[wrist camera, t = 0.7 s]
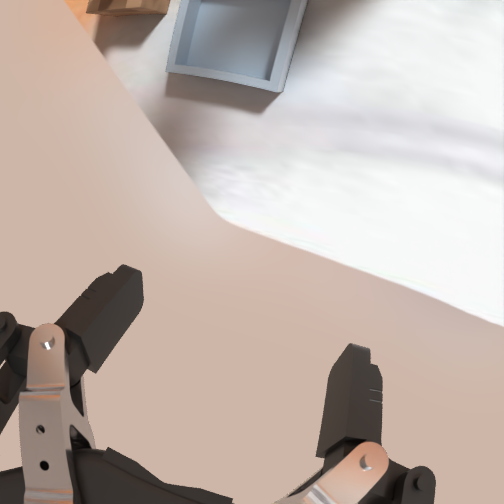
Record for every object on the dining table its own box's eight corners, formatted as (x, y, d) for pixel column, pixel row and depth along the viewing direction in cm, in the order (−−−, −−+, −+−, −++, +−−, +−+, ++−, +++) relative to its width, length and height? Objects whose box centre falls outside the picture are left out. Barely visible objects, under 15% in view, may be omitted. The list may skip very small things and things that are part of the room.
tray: (203, -19, 24) (189, -27, 21) (309, -6, 23) (306, -16, 20) (181, 71, 31) (165, 71, 28) (282, 91, 30) (276, 92, 27)
